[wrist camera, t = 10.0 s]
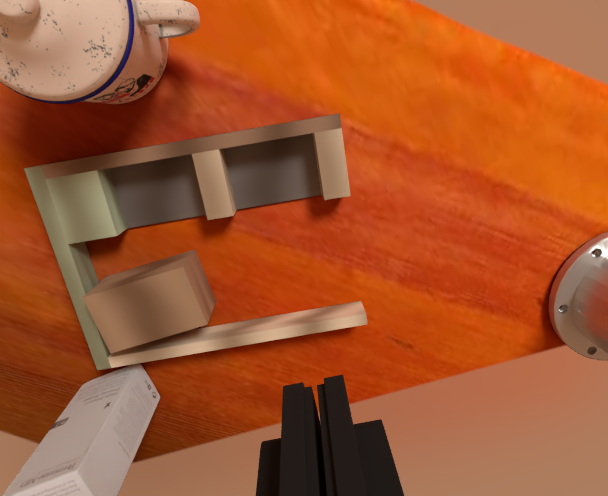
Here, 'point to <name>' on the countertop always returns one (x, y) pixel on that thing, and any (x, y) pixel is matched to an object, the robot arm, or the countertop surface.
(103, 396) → the skincare box
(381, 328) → the countertop surface
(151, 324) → the block
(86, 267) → the tray
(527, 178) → the countertop surface
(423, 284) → the countertop surface
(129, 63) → the teacup with lid
